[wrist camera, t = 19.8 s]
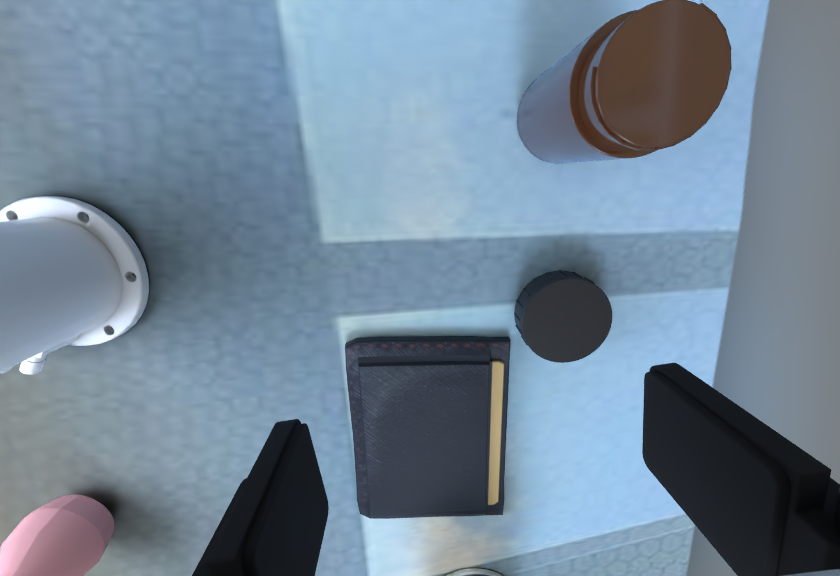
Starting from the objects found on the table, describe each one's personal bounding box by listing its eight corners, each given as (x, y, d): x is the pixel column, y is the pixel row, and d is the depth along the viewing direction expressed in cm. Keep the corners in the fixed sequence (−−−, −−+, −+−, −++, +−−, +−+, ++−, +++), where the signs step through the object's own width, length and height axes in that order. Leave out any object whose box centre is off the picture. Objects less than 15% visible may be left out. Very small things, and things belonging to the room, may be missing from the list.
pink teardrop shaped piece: (61, 537, 41) (-79, 680, 29) (44, 478, 39) (-114, 608, 27) (136, 539, 41) (25, 682, 29) (123, 480, 39) (-1, 610, 27)
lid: (499, 295, 33) (506, 305, 31) (579, 254, 33) (592, 261, 30) (534, 363, 35) (543, 377, 33) (611, 326, 34) (626, 338, 32)
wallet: (342, 344, 33) (521, 344, 33) (345, 335, 34) (516, 335, 35) (352, 528, 38) (505, 528, 38) (355, 512, 40) (501, 512, 40)
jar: (569, 180, 31) (670, 184, 19) (499, 133, 30) (557, 104, 18) (624, 100, 29) (773, 47, 17) (552, 47, 28) (655, -50, 16)
